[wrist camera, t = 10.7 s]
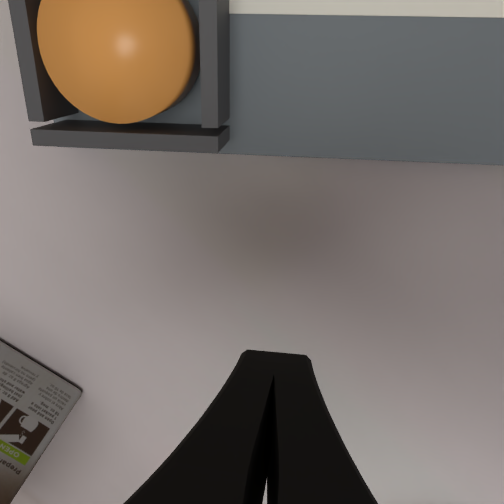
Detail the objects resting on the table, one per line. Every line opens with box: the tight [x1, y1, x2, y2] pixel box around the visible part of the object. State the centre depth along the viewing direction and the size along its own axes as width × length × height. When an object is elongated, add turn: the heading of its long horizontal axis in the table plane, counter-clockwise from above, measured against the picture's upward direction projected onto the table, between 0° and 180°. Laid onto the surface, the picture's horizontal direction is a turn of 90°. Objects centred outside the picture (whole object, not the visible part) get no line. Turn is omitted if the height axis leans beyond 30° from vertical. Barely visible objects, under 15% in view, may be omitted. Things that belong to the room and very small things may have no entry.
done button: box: [37, 0, 200, 124], centre depth 14 cm, size 4×4×2 cm
